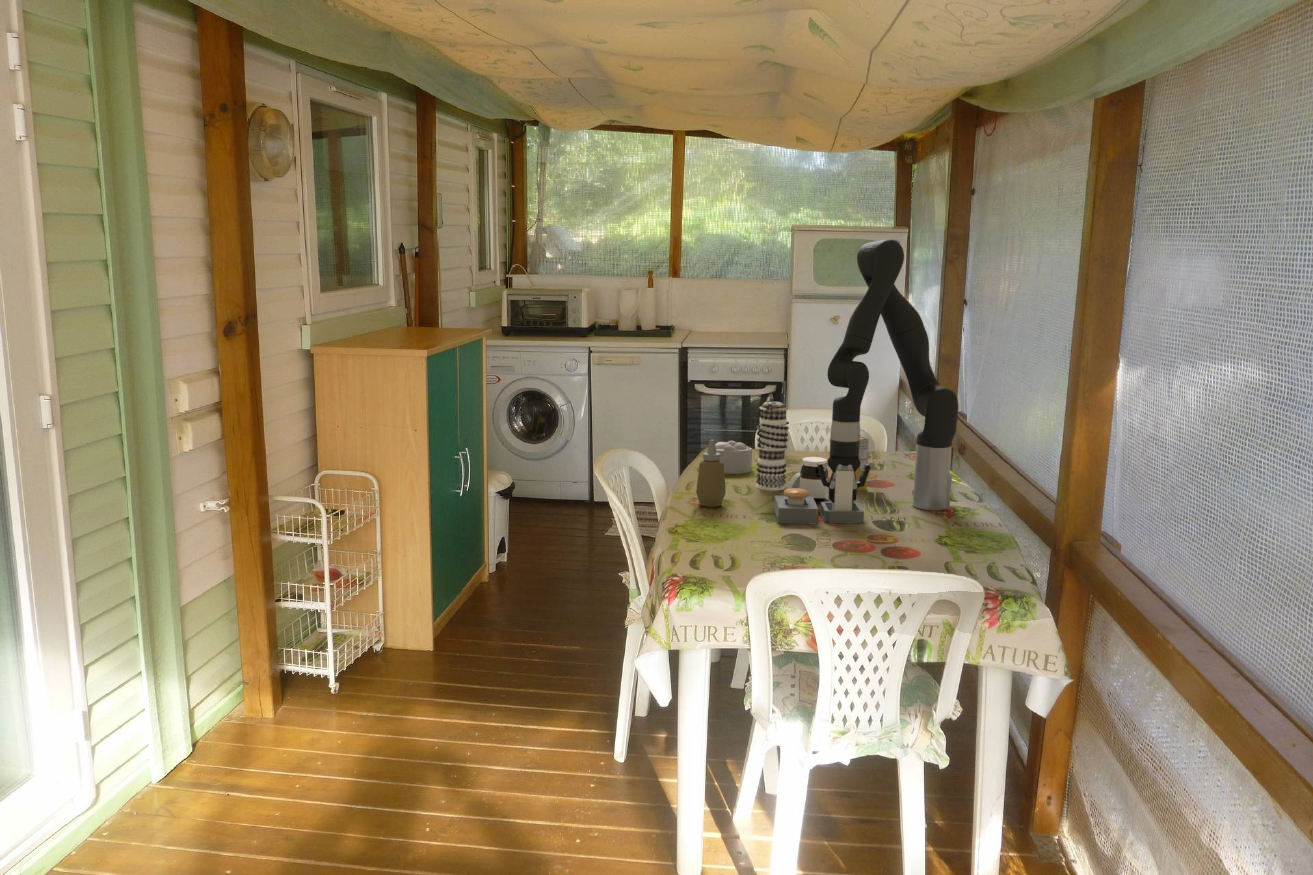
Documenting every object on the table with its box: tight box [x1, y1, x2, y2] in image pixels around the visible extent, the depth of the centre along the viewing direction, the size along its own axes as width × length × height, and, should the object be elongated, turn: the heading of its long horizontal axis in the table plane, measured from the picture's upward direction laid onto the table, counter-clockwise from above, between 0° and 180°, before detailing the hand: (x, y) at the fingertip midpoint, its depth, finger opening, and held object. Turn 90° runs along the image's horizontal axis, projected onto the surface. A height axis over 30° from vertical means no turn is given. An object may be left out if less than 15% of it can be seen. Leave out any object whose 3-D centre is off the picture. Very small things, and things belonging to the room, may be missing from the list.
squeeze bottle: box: [695, 439, 727, 508], centre depth 281 cm, size 8×8×18 cm
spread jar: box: [786, 456, 829, 504], centre depth 289 cm, size 12×11×12 cm
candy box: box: [854, 436, 870, 492], centre depth 303 cm, size 9×4×15 cm, turn 23°
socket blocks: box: [773, 495, 865, 525], centre depth 271 cm, size 22×13×4 cm, turn 88°
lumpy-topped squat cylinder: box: [715, 440, 753, 475], centre depth 324 cm, size 10×13×9 cm
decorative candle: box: [755, 401, 790, 492], centre depth 301 cm, size 9×9×25 cm
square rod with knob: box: [832, 466, 854, 511], centre depth 270 cm, size 4×4×14 cm
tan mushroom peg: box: [783, 488, 809, 505], centre depth 271 cm, size 6×6×6 cm
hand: (842, 501), depth 270 cm, fingers closed on square rod with knob, 4 cm apart
